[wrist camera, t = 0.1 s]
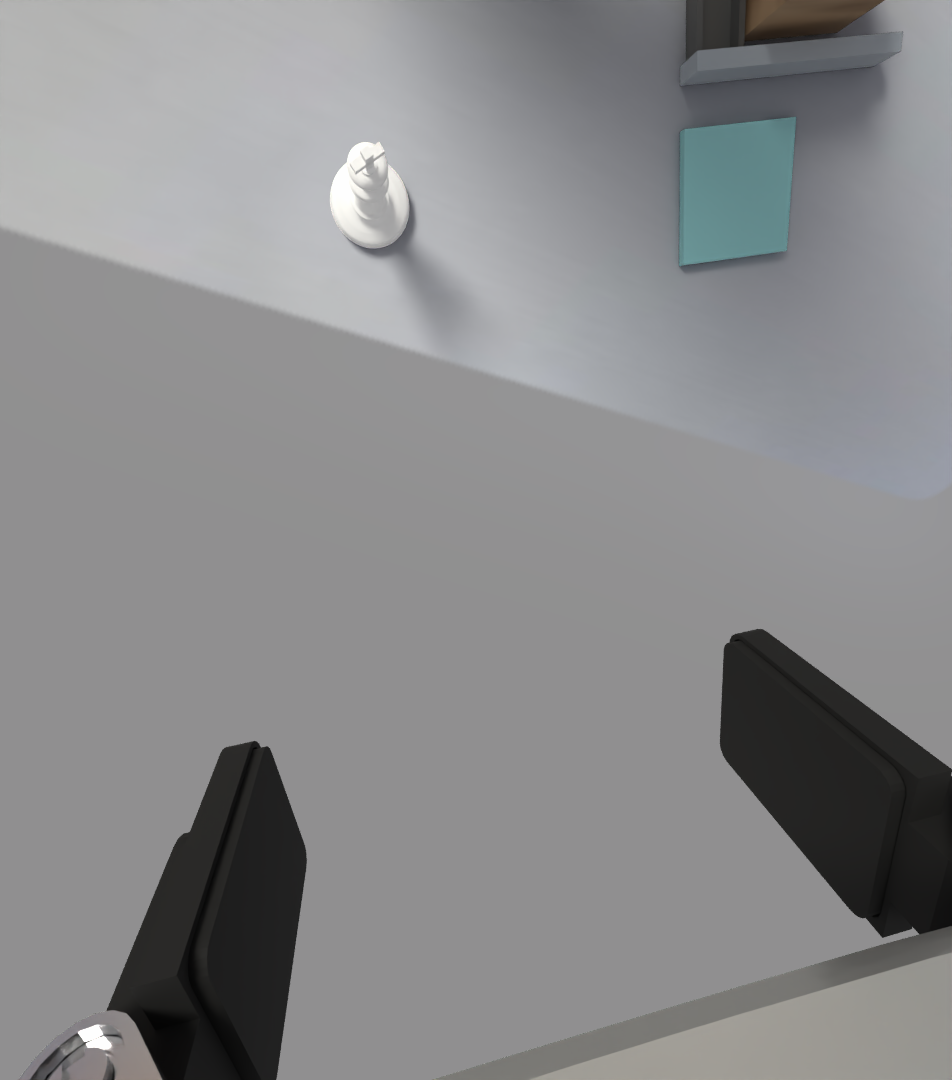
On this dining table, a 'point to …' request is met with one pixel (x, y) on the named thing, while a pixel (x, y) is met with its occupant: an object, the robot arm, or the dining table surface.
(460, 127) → the dining table surface
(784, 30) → the walnut block
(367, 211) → the chess piece
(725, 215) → the pad
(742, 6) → the grey twin-rail rack
